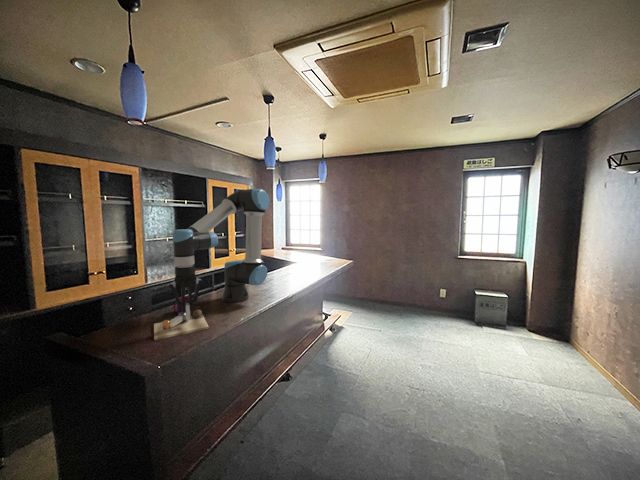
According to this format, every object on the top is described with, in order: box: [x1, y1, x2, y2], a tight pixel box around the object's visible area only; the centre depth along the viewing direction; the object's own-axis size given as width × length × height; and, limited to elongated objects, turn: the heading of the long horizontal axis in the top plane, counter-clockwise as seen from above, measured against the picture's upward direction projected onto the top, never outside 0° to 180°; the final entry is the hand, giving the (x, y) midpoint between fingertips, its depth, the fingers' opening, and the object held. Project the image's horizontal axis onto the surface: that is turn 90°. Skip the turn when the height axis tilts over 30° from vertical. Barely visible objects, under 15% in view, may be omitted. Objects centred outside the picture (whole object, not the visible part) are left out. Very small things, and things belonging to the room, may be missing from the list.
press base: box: [153, 309, 210, 341], centre depth 112 cm, size 20×16×5 cm
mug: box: [172, 296, 189, 314], centre depth 129 cm, size 7×10×7 cm
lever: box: [161, 311, 192, 330], centre depth 112 cm, size 3×16×4 cm, turn 172°
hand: (188, 318), depth 111 cm, fingers closed
